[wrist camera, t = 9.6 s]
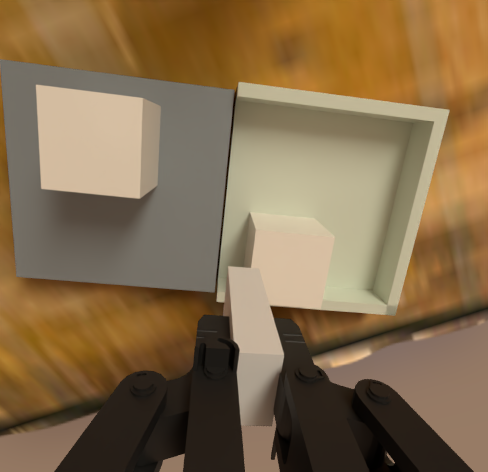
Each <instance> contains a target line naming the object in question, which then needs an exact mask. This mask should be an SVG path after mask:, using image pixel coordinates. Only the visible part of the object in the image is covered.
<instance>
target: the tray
mask: <svg viewBox="0 0 488 472" xmlns="http://www.w3.org/2000/svg"><path fill="white" fill-rule="evenodd" d="M448 114H449V110H446V109H438V108H431V107H423V106H416V105H408V104H401V103H393V102H386V101H378V100H371V99H363V98H356V97H348V96H341V95H333V94H326V93H318V92H311V91H303V90H296V89H288V88H281V87H273V86H266V85H258V84H251V83H243V82H239V83H238V87H237V93H236V103H235V113H234V123H233V133H232V143H231V152H230V162H229V172H228V182H227V192H226V202H225V212H224V222H223V232H222V242H221V252H220V262H219V272H218V282H217V302H224V300H225V291H226V282H227V272H228V266H231V267H243V265H244V256H245V248H246V240H247V232H248V224H249V216H250V212H255V213H264V214H274V215H284V216H294V217H304V218H314V219H316V220H317V221H318V222H319V223H320V224H321V225H322V226H323V227H324V228H325V229H327V230H328V231H329V232H330V233H331V234H332V235H333V236H334V237H335V240H334V245H333V250H332V255H331V260H330V265H329V270H328V275H327V281H326V286H325V291H324V296H323V301H322V306H321V309H317V310H330V311H343V312H356V313H369V314H382V315H395V314H396V310H397V306H398V302H399V299H400V295H401V291H402V287H403V284H404V280H405V276H406V272H407V269H408V265H409V261H410V257H411V253H412V250H413V246H414V242H415V238H416V235H417V231H418V227H419V223H420V220H421V216H422V212H423V208H424V204H425V201H426V197H427V193H428V189H429V186H430V182H431V178H432V174H433V171H434V167H435V163H436V159H437V156H438V152H439V148H440V144H441V140H442V137H443V133H444V129H445V125H446V122H447V118H448ZM270 306H277V305H270ZM277 307H290V306H277ZM290 308H303V307H290ZM304 309H316V308H304Z"/></svg>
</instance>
